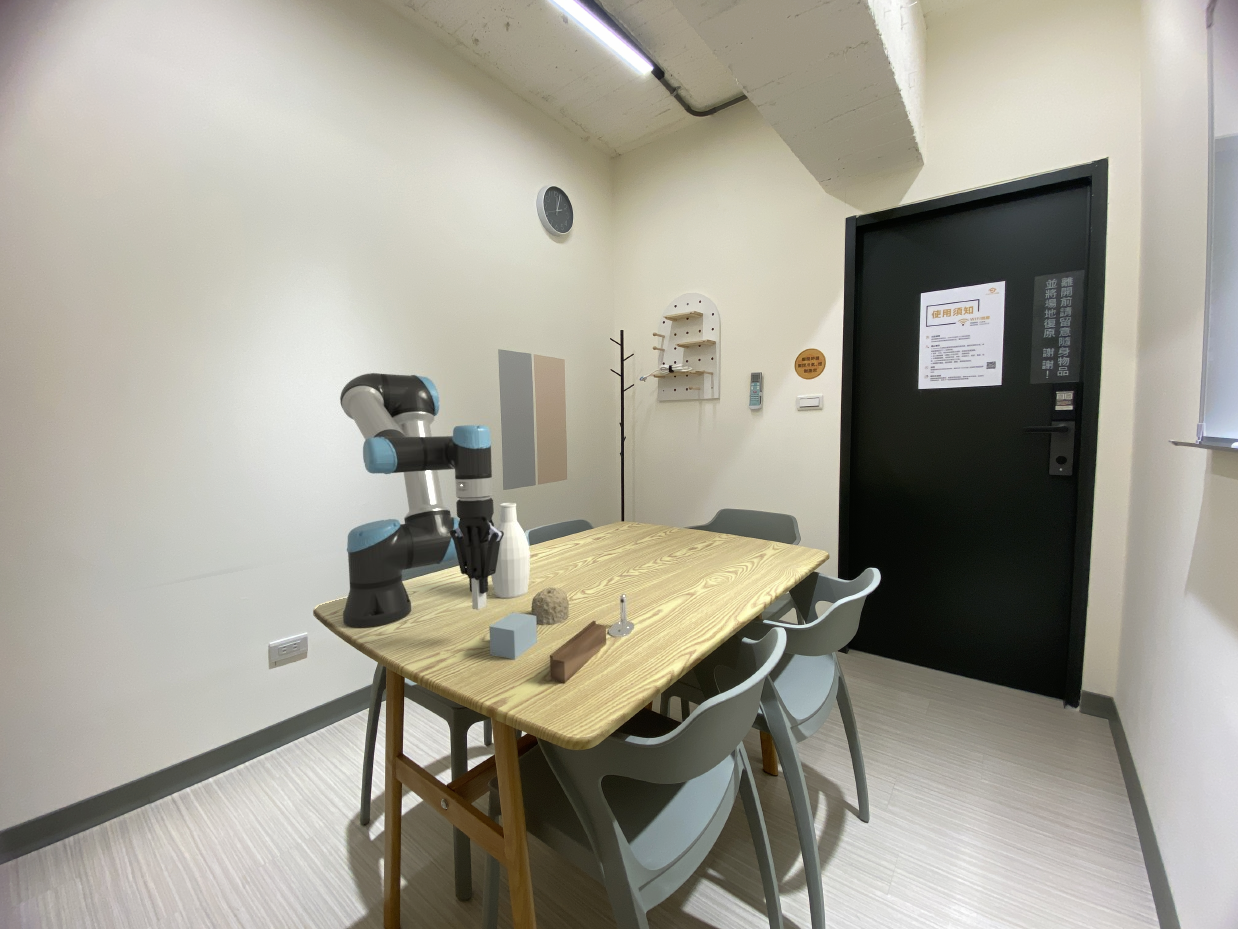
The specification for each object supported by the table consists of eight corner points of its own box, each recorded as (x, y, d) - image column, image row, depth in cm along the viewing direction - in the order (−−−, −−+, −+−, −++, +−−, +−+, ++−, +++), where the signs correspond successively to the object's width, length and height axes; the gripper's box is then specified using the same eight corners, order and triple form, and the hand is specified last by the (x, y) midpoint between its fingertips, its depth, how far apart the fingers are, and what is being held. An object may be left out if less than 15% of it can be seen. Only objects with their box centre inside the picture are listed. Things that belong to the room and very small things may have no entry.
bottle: (503, 603, 125) (499, 508, 123) (483, 593, 133) (480, 504, 131) (538, 593, 132) (536, 503, 131) (518, 584, 140) (515, 499, 139)
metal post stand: (605, 636, 104) (616, 622, 111) (627, 638, 102) (636, 624, 110) (604, 602, 103) (616, 590, 111) (626, 604, 102) (636, 592, 109)
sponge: (549, 642, 110) (572, 609, 108) (517, 617, 111) (539, 584, 109) (562, 626, 119) (583, 595, 117) (532, 603, 120) (552, 572, 118)
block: (490, 655, 96) (489, 626, 95) (513, 639, 103) (512, 612, 103) (515, 660, 93) (514, 630, 93) (537, 643, 101) (536, 616, 100)
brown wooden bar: (550, 680, 85) (549, 655, 85) (593, 641, 101) (593, 620, 100) (564, 683, 84) (564, 658, 84) (606, 644, 99) (605, 622, 99)
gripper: (438, 499, 99) (443, 609, 100) (487, 501, 94) (492, 617, 95) (463, 495, 106) (468, 598, 107) (510, 496, 100) (515, 605, 102)
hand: (479, 607), depth 101 cm, fingers closed
